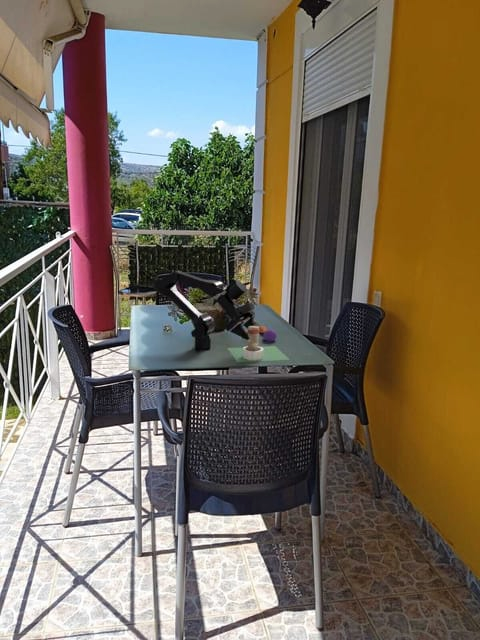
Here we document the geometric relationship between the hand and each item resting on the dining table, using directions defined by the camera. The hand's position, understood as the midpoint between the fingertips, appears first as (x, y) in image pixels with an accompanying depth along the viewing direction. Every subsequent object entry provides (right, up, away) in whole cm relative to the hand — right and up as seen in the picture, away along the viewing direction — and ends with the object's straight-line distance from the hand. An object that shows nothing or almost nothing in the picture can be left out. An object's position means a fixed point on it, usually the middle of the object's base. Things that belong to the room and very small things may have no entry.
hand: (253, 336), depth 190 cm
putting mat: (+2, -8, +6) cm, 10 cm away
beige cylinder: (0, -8, +2) cm, 9 cm away
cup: (0, -8, +2) cm, 9 cm away
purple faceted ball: (+7, -2, +34) cm, 34 cm away
